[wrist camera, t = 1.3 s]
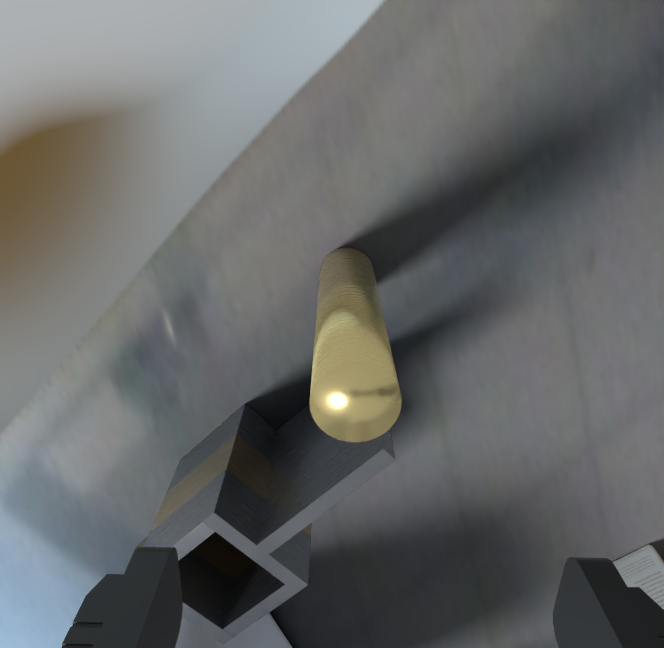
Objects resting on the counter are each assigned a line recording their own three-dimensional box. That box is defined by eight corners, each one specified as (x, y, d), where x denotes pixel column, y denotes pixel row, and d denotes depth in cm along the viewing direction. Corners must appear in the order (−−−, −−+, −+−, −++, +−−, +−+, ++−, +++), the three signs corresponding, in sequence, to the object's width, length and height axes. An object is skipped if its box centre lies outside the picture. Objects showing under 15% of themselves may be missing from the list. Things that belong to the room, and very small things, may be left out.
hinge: (339, 322, 32) (340, 409, 23) (408, 389, 34) (434, 495, 25) (105, 525, 38) (35, 657, 29) (174, 574, 40) (127, 712, 31)
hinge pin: (374, 248, 30) (405, 363, 17) (371, 299, 31) (398, 443, 18) (320, 246, 30) (309, 361, 17) (319, 298, 31) (309, 441, 18)
